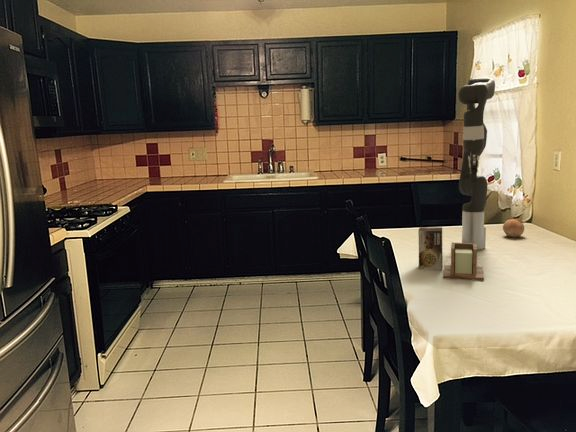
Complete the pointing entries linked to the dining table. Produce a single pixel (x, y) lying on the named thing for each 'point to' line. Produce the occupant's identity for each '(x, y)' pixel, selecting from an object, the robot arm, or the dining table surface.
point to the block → (463, 261)
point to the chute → (476, 271)
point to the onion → (513, 228)
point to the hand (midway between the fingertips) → (473, 182)
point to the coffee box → (430, 248)
